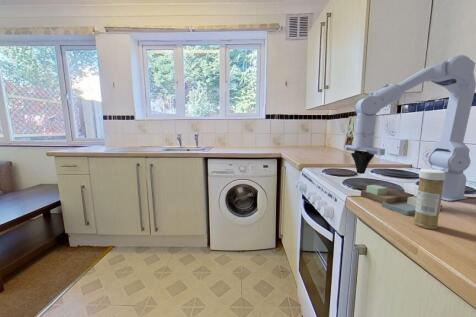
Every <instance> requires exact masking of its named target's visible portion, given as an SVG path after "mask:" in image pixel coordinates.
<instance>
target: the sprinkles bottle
mask: <svg viewBox="0 0 476 317" xmlns="http://www.w3.org/2000/svg"><path fill="white" fill-rule="evenodd" d="M445 174H446V173H445V172H444V171H440V170H434V169H432V168H420V169H419V172H418V177H419V178H418V188H417V194H416V196H417V200H416V208H415V214H414V218H413V224H414V225H416V226H418V227H421V228H422V229H429V230H435V229H438V228H439V227H438V226H439V225H438V223H439V216H440V206H441V204H442V199H441V196H442V188H443V182H444V180H445Z"/></svg>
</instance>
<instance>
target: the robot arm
mask: <svg viewBox="0 0 476 317" xmlns="http://www.w3.org/2000/svg"><path fill="white" fill-rule="evenodd" d="M475 67H476V62H474V61H473V60H472V59H471V58H470V57H468V56H466V55H463V54H461V55H460V54H459V55H457V56H453V57H452V58H450V59H446V60H443V61H442V62H441V61H440V62H437V63H434V64H433V65H431V66H428V67H425V68H422V69H421V70H419V71H417V72H415V73H414V74H412V75H411V76H409V77H407V78H405V79H404V80H403V81H401V82H399V83H389V84H388V83H385V84H384V85H381V87H382V88H381V89H379V90H376V91H375V92H370V93H368V96H367V97H364V98H362V99H359V100H358V101H357V103H356V104H355V106H354V108H353V109H354V112H355V113H356V122H355V131H354V139H353V140H354V142H353V144H345V145H344V149H343V150H344V151H351V154H350V155H351V157H352V159H353V161H354V162H353V163H354V164H355V169H356V173H357V174H359V175H363V174H365V173H366V170H367V168H368V166H369V164H370V162H371V160H373V158H374V157H375V155H377V156H385V155H386V154H385V153H386V152H385V151H386V149H385V148H379V147H375V146H374V139H375V133H376V132H375V130H376V122H377V113H379V112H380V111H381V109H383V108H386V107H387V106H389V105H390V104H393V103H394V102H396V101H399V100H400V99H401V98H402V95H403V94H404V93H405V92H406V91H409V90H410V89H413V88H415V87H417V86H419V85H420V84H421V85H422V84H423V83H425V82H427V83H428V82H431V83H433V84H436V85H438V86H440V87H443V88H445V89H446V90H447V91H448V92H449V97H448V101H447V107H446V112H445V116H444V117H445V118H444V121H443V125H442V131H441V136H440V139H439V141H437V142H436V144H434V145H433V148H432V151H431V152H429V153H430V154H429V155H428V163H429V165H431V169H434V170H440V171H444V172H445V173H446V174H445V180H444V182H443V188H442V196H441V200H444V201H447V202H453V201H458V200H466V199H468V196H466V195H465V191H466V186H467V177H466V175H465V173H464V171H466V170H467V169H468V168H469V167H470V165H471V157H470V150H471V149H470V148H469V147H468V146H467V145H466V144H465V143H464V141H465V137H466V136H465V135H466V132H467V127H468V122H469V118H470V114H471V113H470V112H471V109H472V106H473V104H472V103H473V100H474V96H475V91H476V79H475V75H474V71H475ZM464 195H465V196H464Z"/></svg>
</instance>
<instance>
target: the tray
mask: <svg viewBox="0 0 476 317" xmlns="http://www.w3.org/2000/svg"><path fill="white" fill-rule="evenodd" d="M381 207H383V208H386V209H389V210H391V211H394V212H397V213H399V214H401V215H405V216H411V215H415V208H416V206H413V205H410V204H407V201H405V202H398V203H391V204H388V203H385V202H382V204H381ZM442 209H443V205H441V206H440V210H442Z"/></svg>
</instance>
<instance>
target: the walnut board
mask: <svg viewBox="0 0 476 317" xmlns="http://www.w3.org/2000/svg"><path fill="white" fill-rule="evenodd" d="M385 187H386V188H387V194H381V195H376V194H373V193H370V192H367V191H366V189H362V190H360V197H362V198H365V199H367V200H371V201H373V202H377V203H378V204H381V205H382V202H385V203H388V204H391V203H398V202H405V201H407V200H408V197H412V196H415V194H413V193H409V192H405V191H403V190H399V189H396V188H395V189H394V188H391V187H387V186H385Z"/></svg>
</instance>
